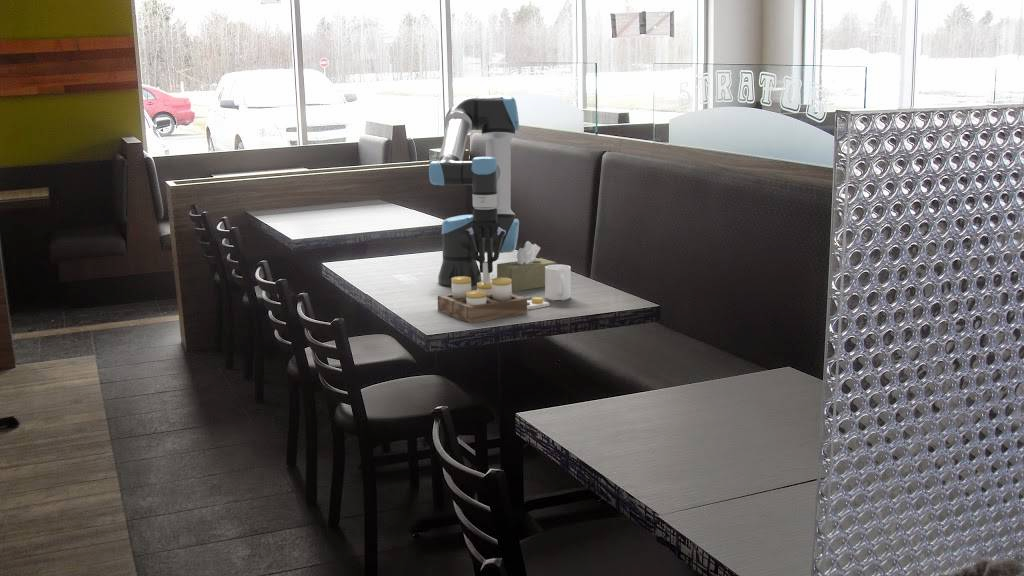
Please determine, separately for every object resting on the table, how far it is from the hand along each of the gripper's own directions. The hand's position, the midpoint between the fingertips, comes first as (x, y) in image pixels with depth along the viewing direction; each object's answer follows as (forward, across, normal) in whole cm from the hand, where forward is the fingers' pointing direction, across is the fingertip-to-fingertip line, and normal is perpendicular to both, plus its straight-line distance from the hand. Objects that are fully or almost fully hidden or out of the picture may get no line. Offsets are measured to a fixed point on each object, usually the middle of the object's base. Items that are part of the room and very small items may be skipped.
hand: (486, 282), depth 306 cm
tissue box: (+8, +6, +33) cm, 35 cm away
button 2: (+6, 0, -13) cm, 14 cm away
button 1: (+4, -6, -6) cm, 10 cm away
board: (+8, 0, -6) cm, 10 cm away
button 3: (+6, 0, 0) cm, 6 cm away
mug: (+8, +20, +14) cm, 26 cm away
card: (+8, +11, +5) cm, 15 cm away
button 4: (+4, +6, -6) cm, 10 cm away
